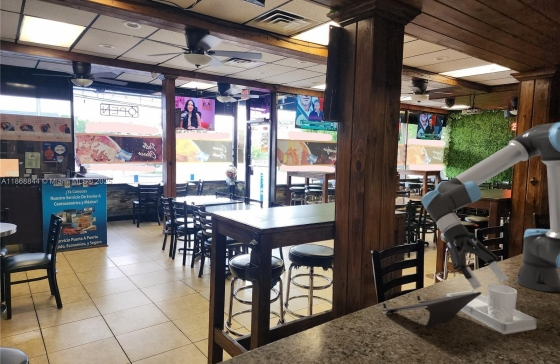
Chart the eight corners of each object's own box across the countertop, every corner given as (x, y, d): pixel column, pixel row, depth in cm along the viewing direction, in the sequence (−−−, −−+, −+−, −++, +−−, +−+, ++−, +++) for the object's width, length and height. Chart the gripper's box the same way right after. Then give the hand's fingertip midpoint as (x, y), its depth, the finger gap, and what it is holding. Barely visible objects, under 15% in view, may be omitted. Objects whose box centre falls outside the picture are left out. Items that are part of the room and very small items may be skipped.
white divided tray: (472, 298, 134) (472, 290, 134) (536, 328, 111) (536, 319, 110) (444, 301, 130) (444, 293, 130) (503, 334, 107) (504, 324, 107)
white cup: (519, 326, 110) (521, 294, 109) (491, 324, 111) (492, 292, 110) (508, 315, 117) (510, 285, 117) (482, 313, 119) (483, 283, 118)
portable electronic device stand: (433, 321, 129) (424, 294, 132) (490, 316, 109) (478, 285, 112) (382, 334, 119) (374, 305, 122) (435, 331, 99) (424, 297, 102)
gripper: (468, 231, 137) (506, 283, 125) (421, 238, 126) (457, 296, 114) (482, 220, 132) (523, 272, 120) (434, 226, 121) (474, 285, 109)
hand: (491, 284), depth 117 cm, fingers open, 13 cm apart
